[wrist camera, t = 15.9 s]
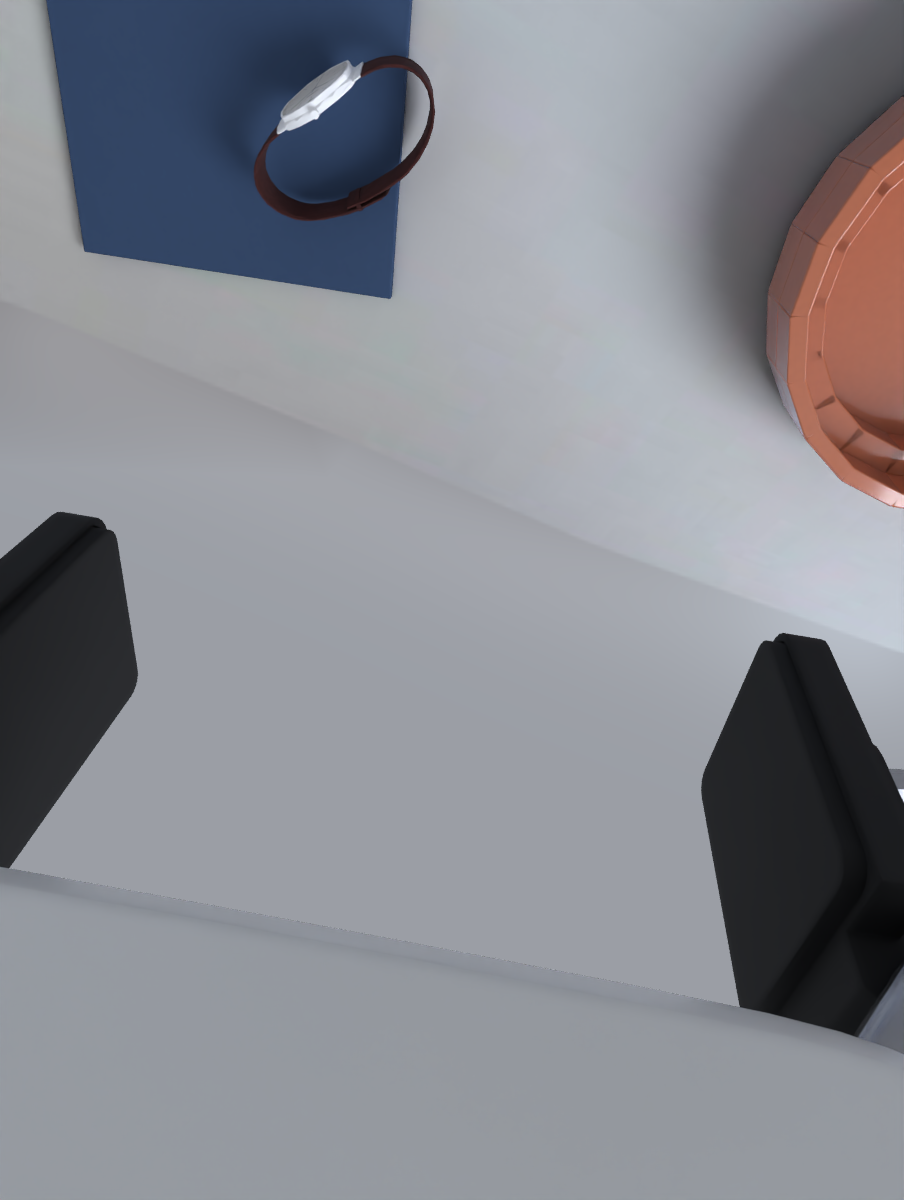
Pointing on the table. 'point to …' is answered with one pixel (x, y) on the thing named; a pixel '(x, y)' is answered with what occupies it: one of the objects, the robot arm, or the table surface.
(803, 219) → the bowl
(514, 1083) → the robot arm
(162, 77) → the mat
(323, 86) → the watch
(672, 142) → the table surface
